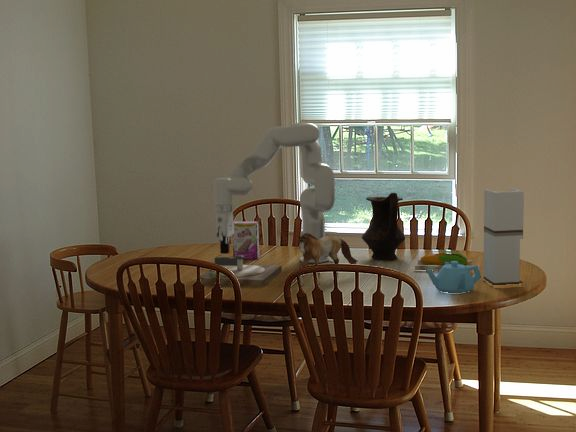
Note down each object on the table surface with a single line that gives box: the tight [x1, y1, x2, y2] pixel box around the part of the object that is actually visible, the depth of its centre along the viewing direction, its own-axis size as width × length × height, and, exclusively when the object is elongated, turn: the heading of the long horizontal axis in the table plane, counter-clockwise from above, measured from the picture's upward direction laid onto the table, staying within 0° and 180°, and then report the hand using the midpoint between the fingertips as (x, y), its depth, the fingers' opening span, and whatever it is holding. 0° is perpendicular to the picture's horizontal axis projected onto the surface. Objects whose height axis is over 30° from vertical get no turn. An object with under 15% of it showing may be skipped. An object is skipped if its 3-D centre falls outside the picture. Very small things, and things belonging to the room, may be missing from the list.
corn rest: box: [414, 258, 473, 272], centre depth 324 cm, size 22×12×2 cm, turn 75°
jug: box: [361, 192, 406, 262], centre depth 343 cm, size 21×18×30 cm
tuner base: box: [199, 263, 283, 287], centre depth 320 cm, size 27×26×4 cm
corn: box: [420, 250, 469, 266], centre depth 324 cm, size 7×8×20 cm
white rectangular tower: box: [483, 187, 525, 285], centre depth 294 cm, size 11×11×35 cm
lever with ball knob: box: [214, 255, 244, 270], centre depth 320 cm, size 12×4×6 cm, turn 75°
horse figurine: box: [297, 233, 359, 286], centre depth 309 cm, size 31×8×21 cm, turn 133°
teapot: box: [426, 261, 483, 293], centre depth 288 cm, size 15×15×11 cm
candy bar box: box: [232, 221, 260, 260], centre depth 355 cm, size 11×5×16 cm, turn 84°
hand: (224, 253), depth 327 cm, fingers closed
